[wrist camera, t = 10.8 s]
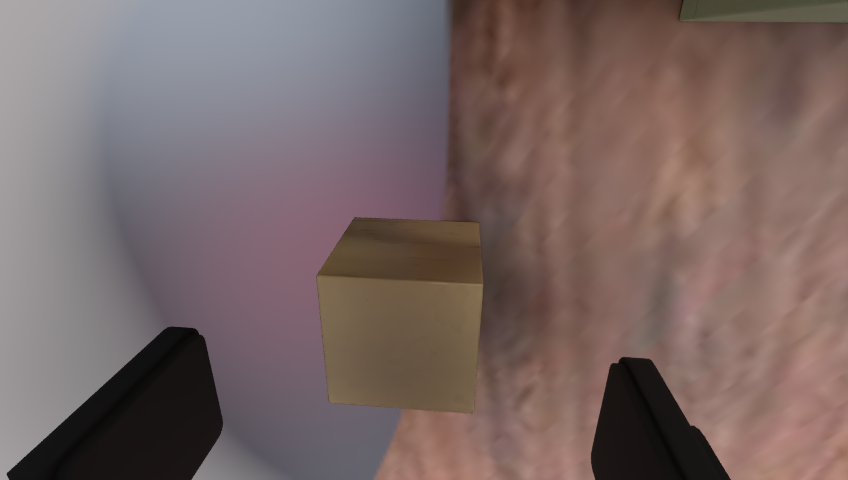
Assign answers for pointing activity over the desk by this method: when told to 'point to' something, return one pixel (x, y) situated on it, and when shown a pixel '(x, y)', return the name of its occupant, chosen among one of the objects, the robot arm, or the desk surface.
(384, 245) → the block
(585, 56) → the desk surface
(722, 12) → the box
